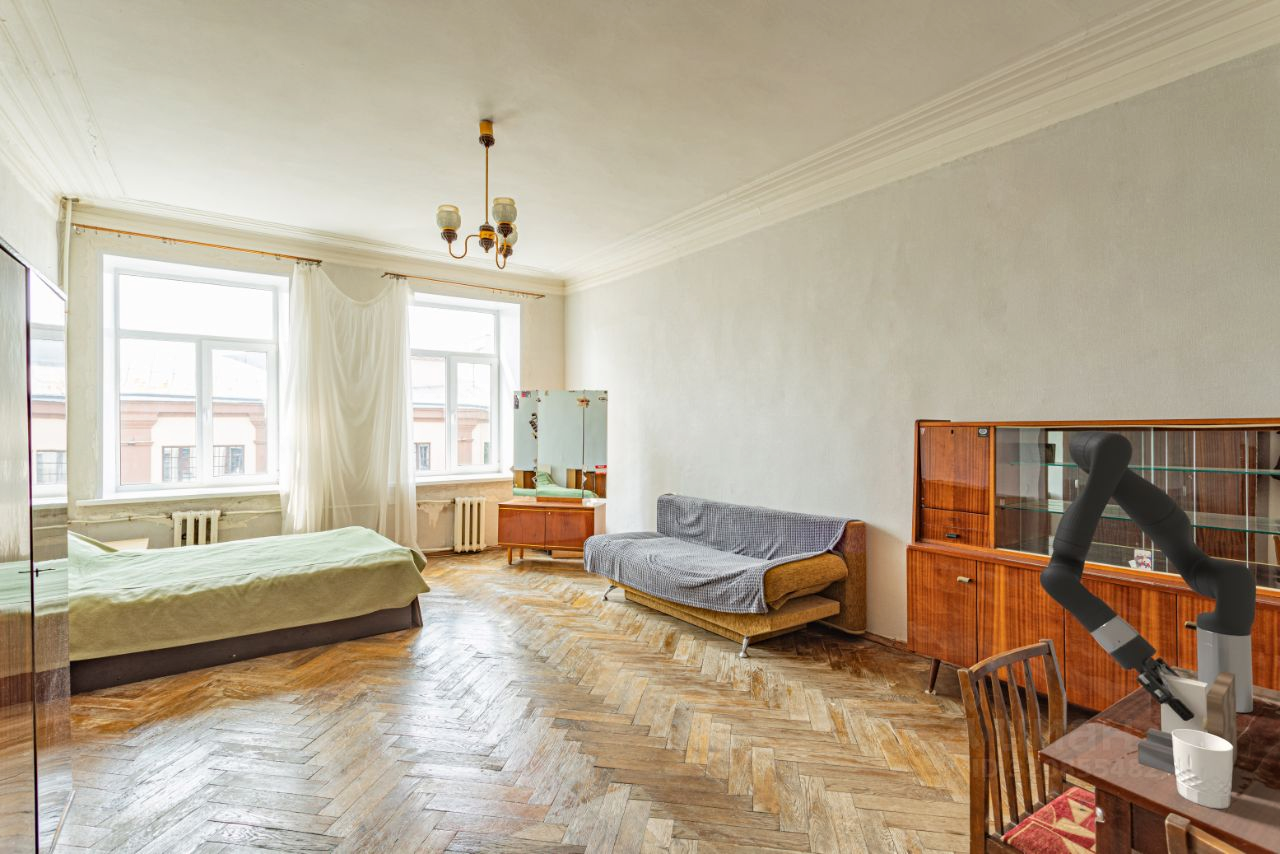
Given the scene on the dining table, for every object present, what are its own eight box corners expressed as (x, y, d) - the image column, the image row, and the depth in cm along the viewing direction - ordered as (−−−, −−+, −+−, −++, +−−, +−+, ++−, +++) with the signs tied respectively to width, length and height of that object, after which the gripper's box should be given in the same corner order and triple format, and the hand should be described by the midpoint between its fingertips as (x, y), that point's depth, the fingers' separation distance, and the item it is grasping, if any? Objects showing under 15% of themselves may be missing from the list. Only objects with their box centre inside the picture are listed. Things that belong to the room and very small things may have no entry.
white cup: (1163, 791, 109) (1161, 734, 109) (1188, 781, 112) (1187, 725, 112) (1219, 816, 102) (1217, 754, 102) (1244, 804, 105) (1243, 745, 105)
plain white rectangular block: (1164, 730, 131) (1163, 673, 131) (1209, 742, 126) (1207, 683, 126) (1161, 734, 129) (1160, 677, 129) (1206, 747, 124) (1205, 687, 124)
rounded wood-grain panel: (1158, 734, 129) (1156, 657, 130) (1237, 756, 120) (1235, 674, 120) (1138, 762, 118) (1136, 678, 119) (1224, 789, 109) (1221, 698, 109)
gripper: (1128, 640, 129) (1205, 715, 120) (1144, 626, 138) (1217, 694, 129) (1098, 658, 133) (1170, 732, 124) (1116, 644, 142) (1184, 711, 133)
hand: (1194, 713), depth 126 cm, fingers open, 7 cm apart
